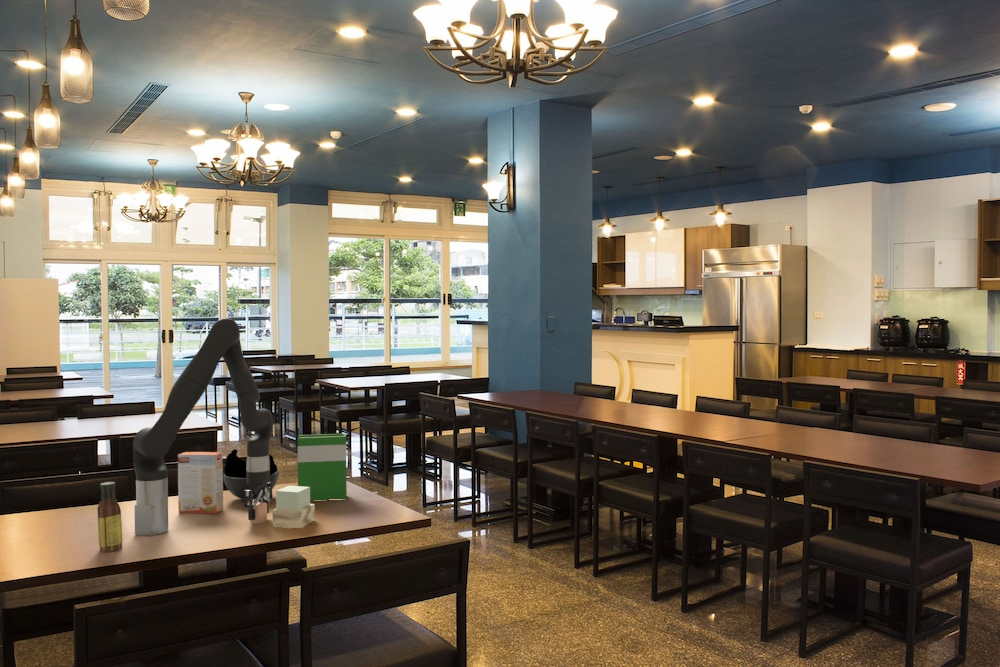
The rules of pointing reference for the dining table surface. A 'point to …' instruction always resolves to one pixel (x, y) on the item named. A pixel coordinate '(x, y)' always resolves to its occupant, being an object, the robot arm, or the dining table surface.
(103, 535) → the sauce bottle
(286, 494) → the sage block
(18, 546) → the dining table surface
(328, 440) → the hardback book
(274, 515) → the birch base block
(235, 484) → the bowl of black rocks
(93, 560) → the dining table surface
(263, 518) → the coral cylinder
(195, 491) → the cracker box
